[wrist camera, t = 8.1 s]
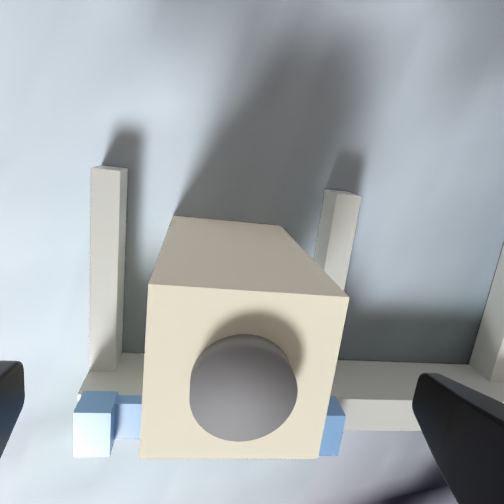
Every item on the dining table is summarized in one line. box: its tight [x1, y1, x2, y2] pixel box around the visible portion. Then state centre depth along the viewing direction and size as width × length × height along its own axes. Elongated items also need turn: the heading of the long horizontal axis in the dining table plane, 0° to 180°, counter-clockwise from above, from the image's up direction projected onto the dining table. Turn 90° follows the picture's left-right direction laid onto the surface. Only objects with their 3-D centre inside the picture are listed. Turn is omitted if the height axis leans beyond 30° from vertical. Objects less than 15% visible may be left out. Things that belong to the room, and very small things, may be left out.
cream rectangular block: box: [139, 216, 350, 459], centre depth 13 cm, size 4×4×9 cm
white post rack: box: [73, 165, 504, 457], centre depth 16 cm, size 19×10×4 cm, turn 83°
